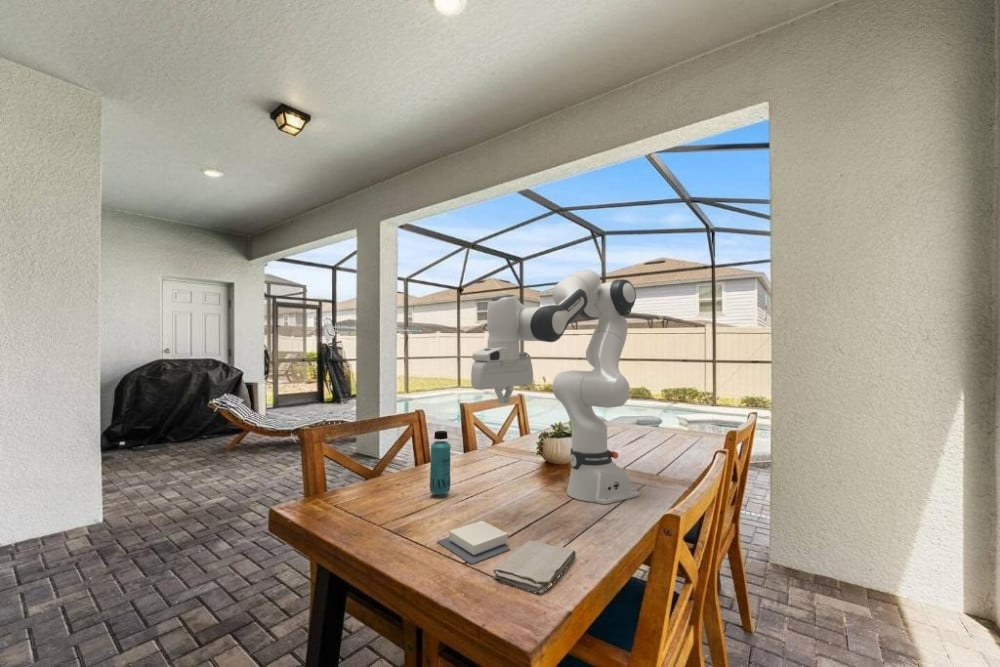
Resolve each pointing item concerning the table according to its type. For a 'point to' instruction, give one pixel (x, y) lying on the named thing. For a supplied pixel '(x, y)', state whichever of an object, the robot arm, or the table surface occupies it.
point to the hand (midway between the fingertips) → (504, 403)
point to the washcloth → (534, 566)
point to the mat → (470, 557)
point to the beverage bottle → (440, 464)
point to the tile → (478, 537)
